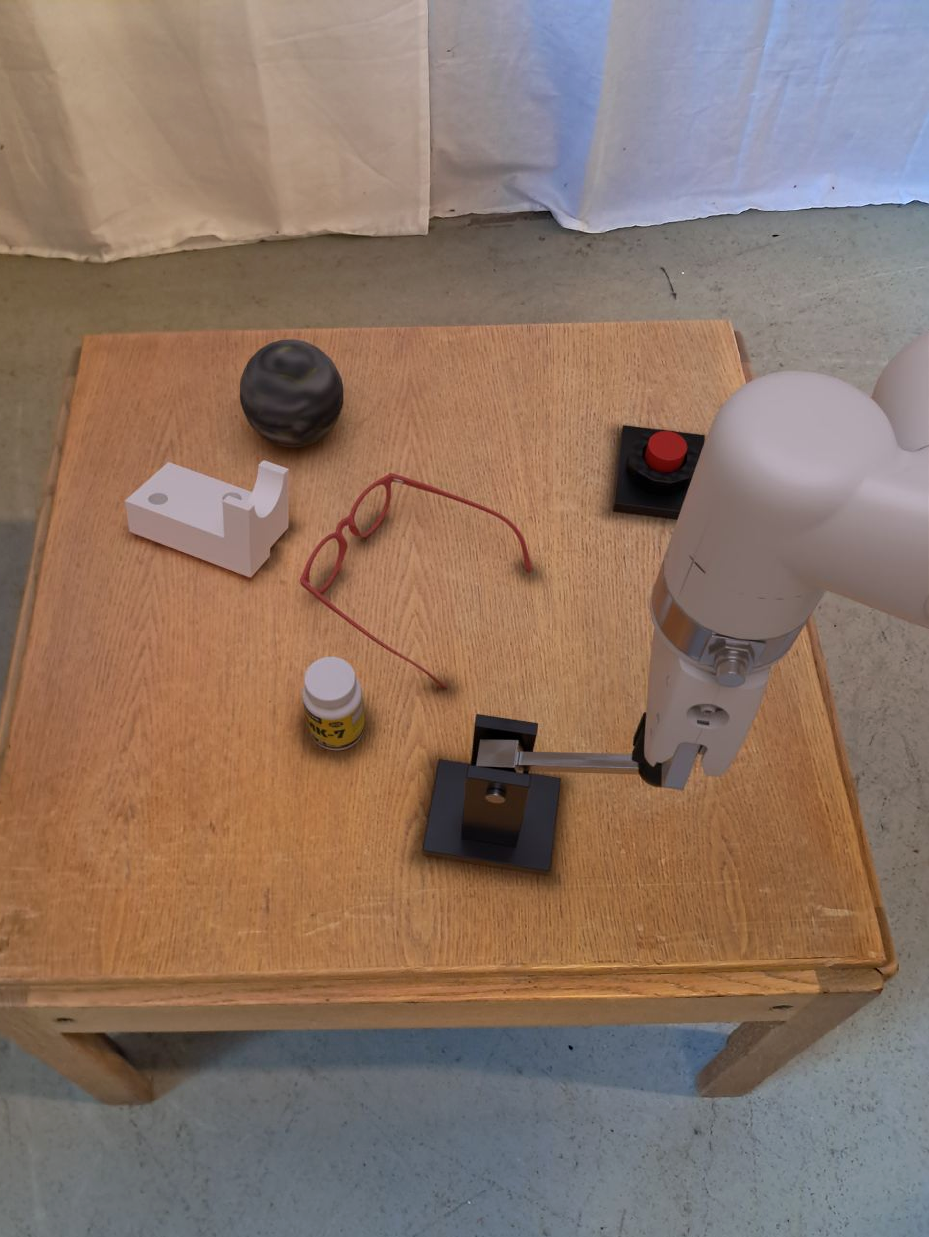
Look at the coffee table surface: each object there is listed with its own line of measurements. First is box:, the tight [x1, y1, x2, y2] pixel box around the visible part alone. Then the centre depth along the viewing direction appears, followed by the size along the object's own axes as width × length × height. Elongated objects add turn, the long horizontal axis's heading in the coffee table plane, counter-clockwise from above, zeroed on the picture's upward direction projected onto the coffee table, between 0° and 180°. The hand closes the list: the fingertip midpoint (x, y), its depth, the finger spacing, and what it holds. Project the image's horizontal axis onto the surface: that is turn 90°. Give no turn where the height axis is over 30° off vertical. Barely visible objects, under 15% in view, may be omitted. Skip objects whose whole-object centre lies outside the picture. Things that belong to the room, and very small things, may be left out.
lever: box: [476, 739, 663, 789], centre depth 70 cm, size 14×3×3 cm, turn 80°
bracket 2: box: [421, 713, 562, 877], centre depth 76 cm, size 10×8×13 cm
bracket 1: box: [124, 459, 290, 579], centre depth 93 cm, size 13×7×8 cm, turn 65°
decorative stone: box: [239, 338, 344, 448], centre depth 98 cm, size 10×10×10 cm
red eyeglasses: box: [299, 472, 533, 689], centre depth 90 cm, size 17×16×5 cm
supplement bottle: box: [301, 656, 366, 751], centre depth 82 cm, size 5×5×8 cm
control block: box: [612, 424, 706, 520], centre depth 97 cm, size 10×8×3 cm
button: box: [645, 430, 687, 472], centre depth 96 cm, size 4×4×2 cm
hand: (655, 754), depth 67 cm, fingers closed
